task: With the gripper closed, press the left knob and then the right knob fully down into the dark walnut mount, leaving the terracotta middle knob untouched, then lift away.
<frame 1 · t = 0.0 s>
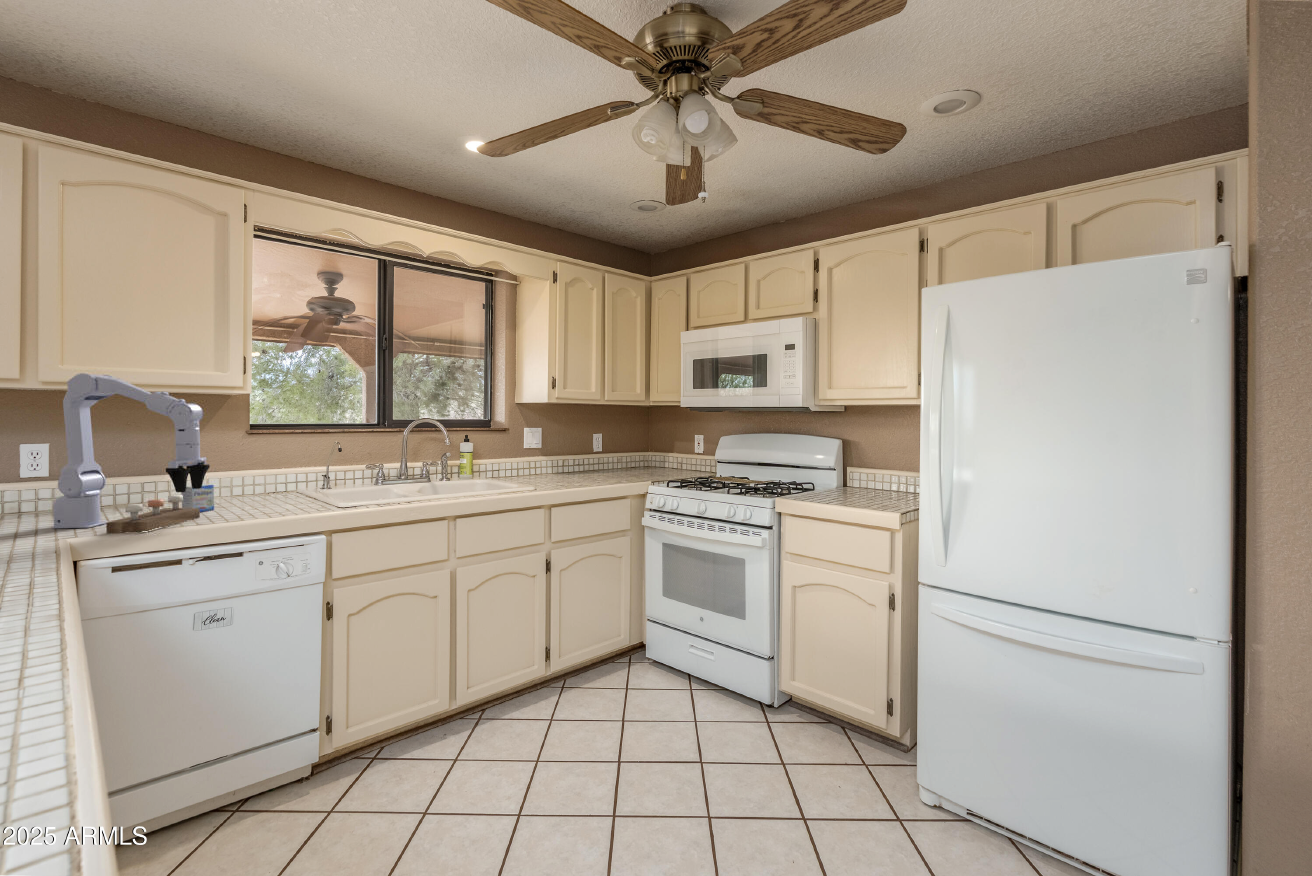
hand: (188, 490, 179), 10 cm above the counter, fingers open, 7 cm apart
knob middle: (155, 507, 178), point 5 cm above the counter, slide at 0.0 cm
knob 1: (134, 512, 169), point 5 cm above the counter, slide at 0.0 cm
medicine box: (198, 512, 202), on the counter
knob 2: (175, 503, 187), point 5 cm above the counter, slide at 0.0 cm
mount: (156, 524, 178), on the counter
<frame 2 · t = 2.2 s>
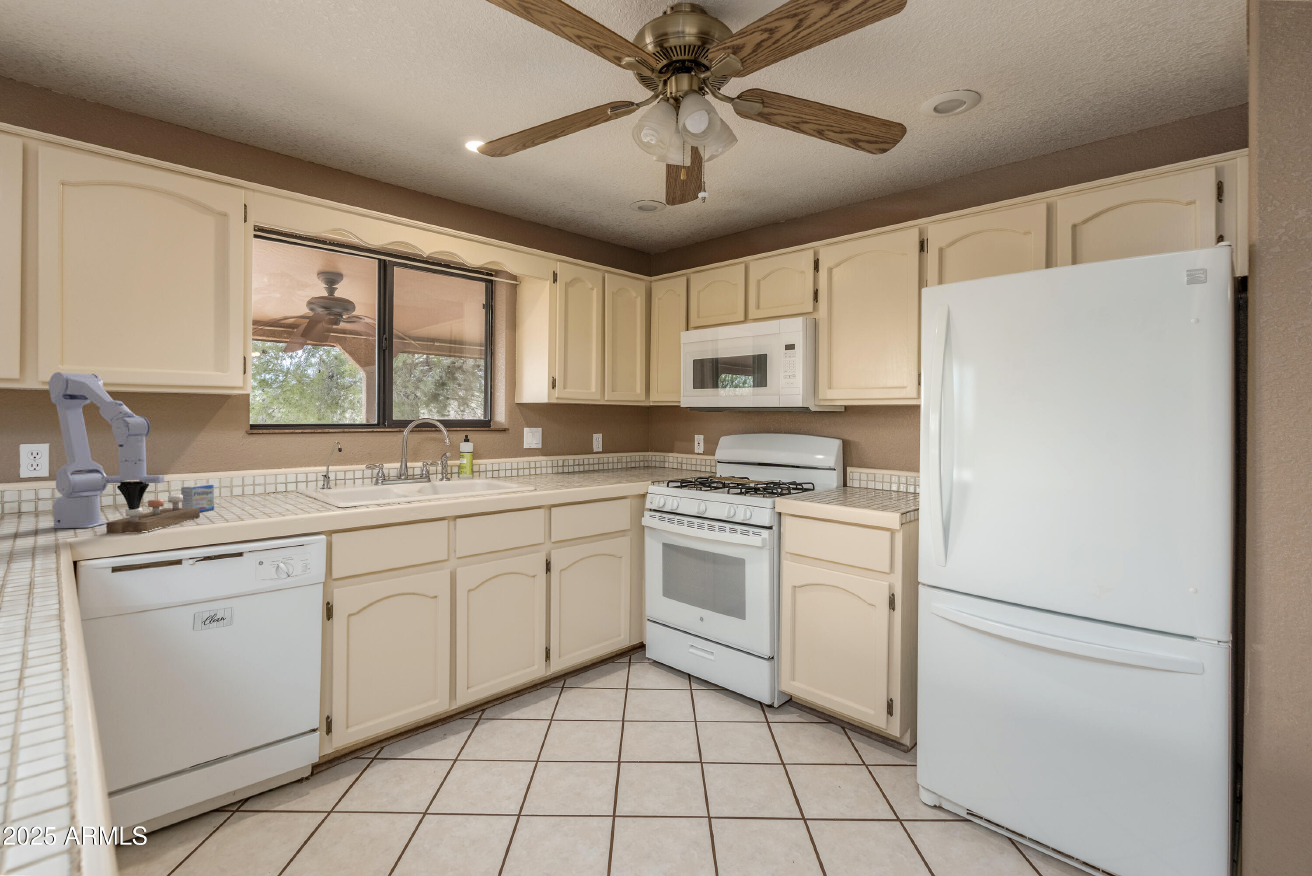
hand: (134, 509, 169), 6 cm above the counter, fingers closed, pressing on knob 1
knob 1: (134, 516, 169), point 4 cm above the counter, slide at 1.1 cm, touching gripper
everything else where it was.
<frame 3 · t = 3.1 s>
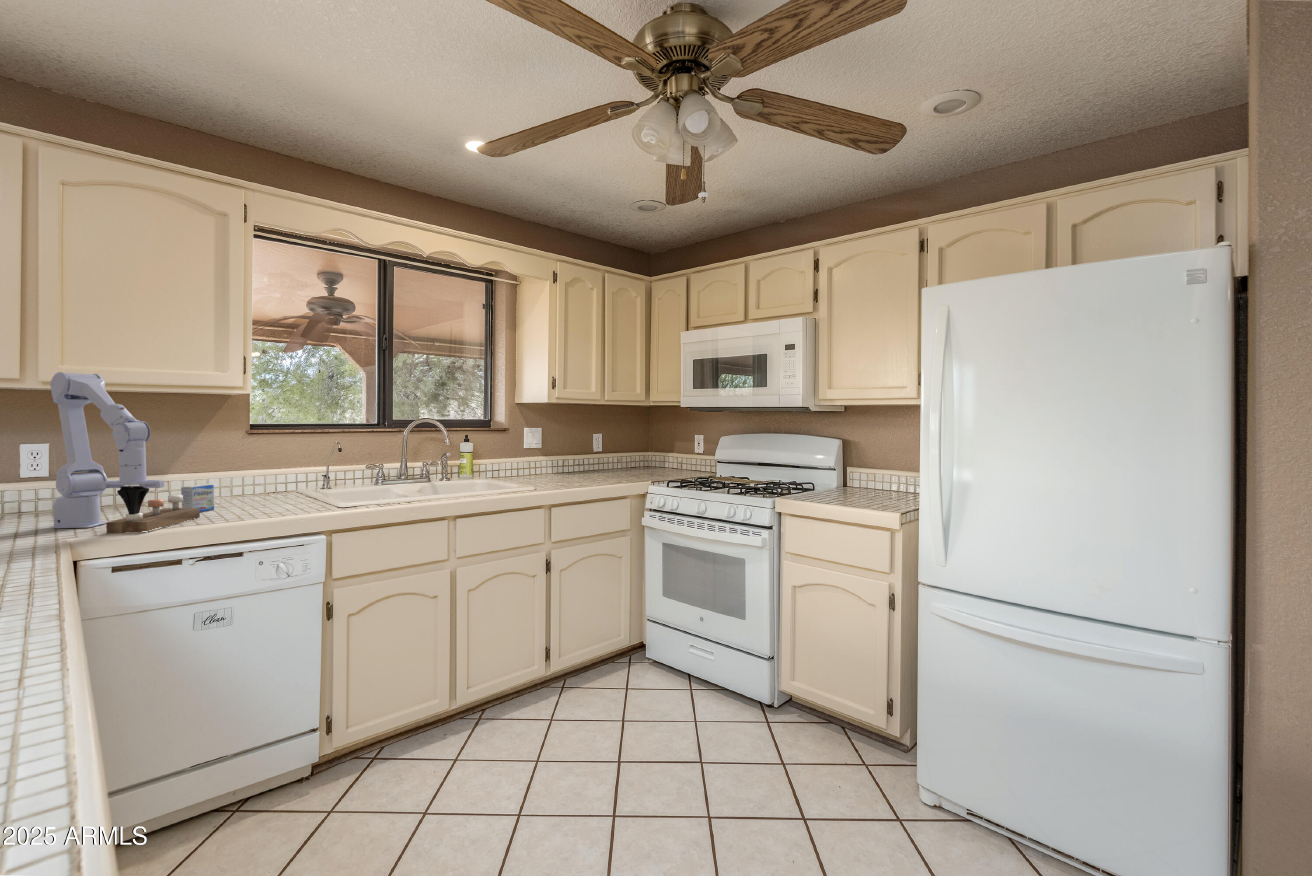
hand: (134, 513, 169), 5 cm above the counter, fingers closed
knob 1: (134, 521, 169), point 3 cm above the counter, slide at 2.5 cm, touching mount
everything else where it was.
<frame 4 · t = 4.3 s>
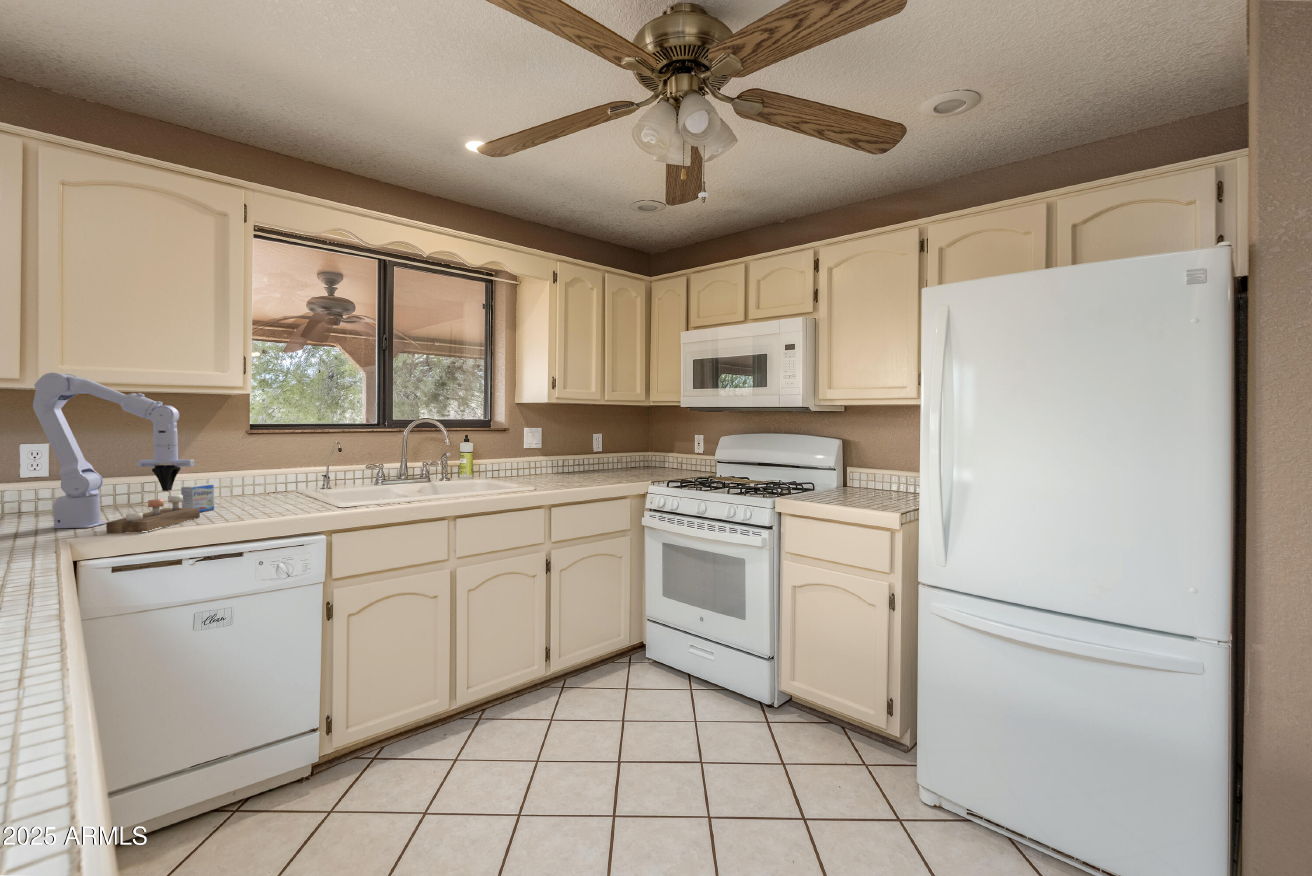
hand: (167, 490, 183), 9 cm above the counter, fingers closed
knob 1: (134, 521, 169), point 3 cm above the counter, slide at 2.5 cm
everything else where it was.
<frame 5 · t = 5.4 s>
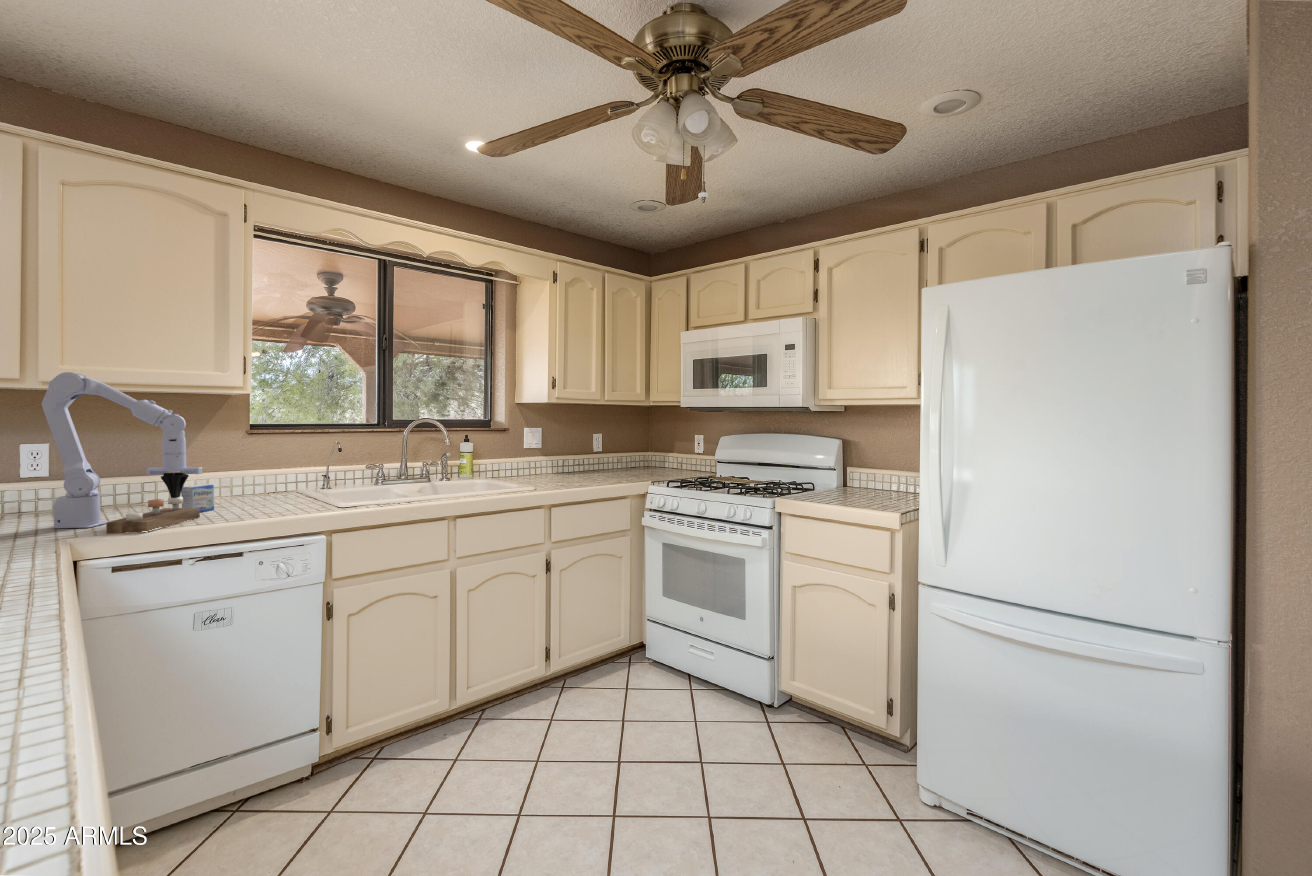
hand: (175, 497, 187), 7 cm above the counter, fingers closed, pressing on knob 2
knob 2: (175, 504, 187), point 5 cm above the counter, slide at 0.5 cm, touching gripper
everything else where it was.
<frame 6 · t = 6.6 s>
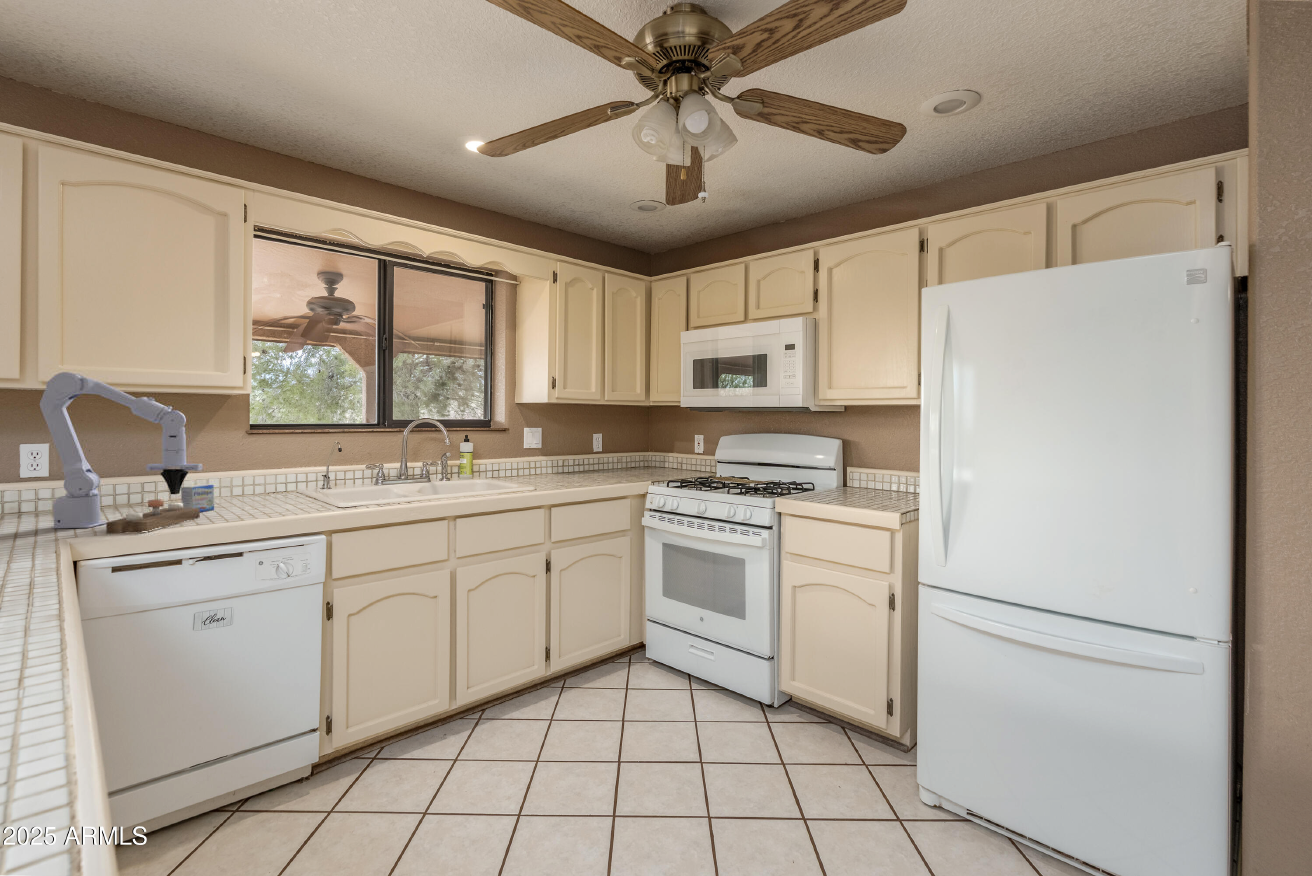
hand: (175, 494, 187), 8 cm above the counter, fingers closed
knob 2: (175, 511, 187), point 3 cm above the counter, slide at 2.5 cm
everything else where it was.
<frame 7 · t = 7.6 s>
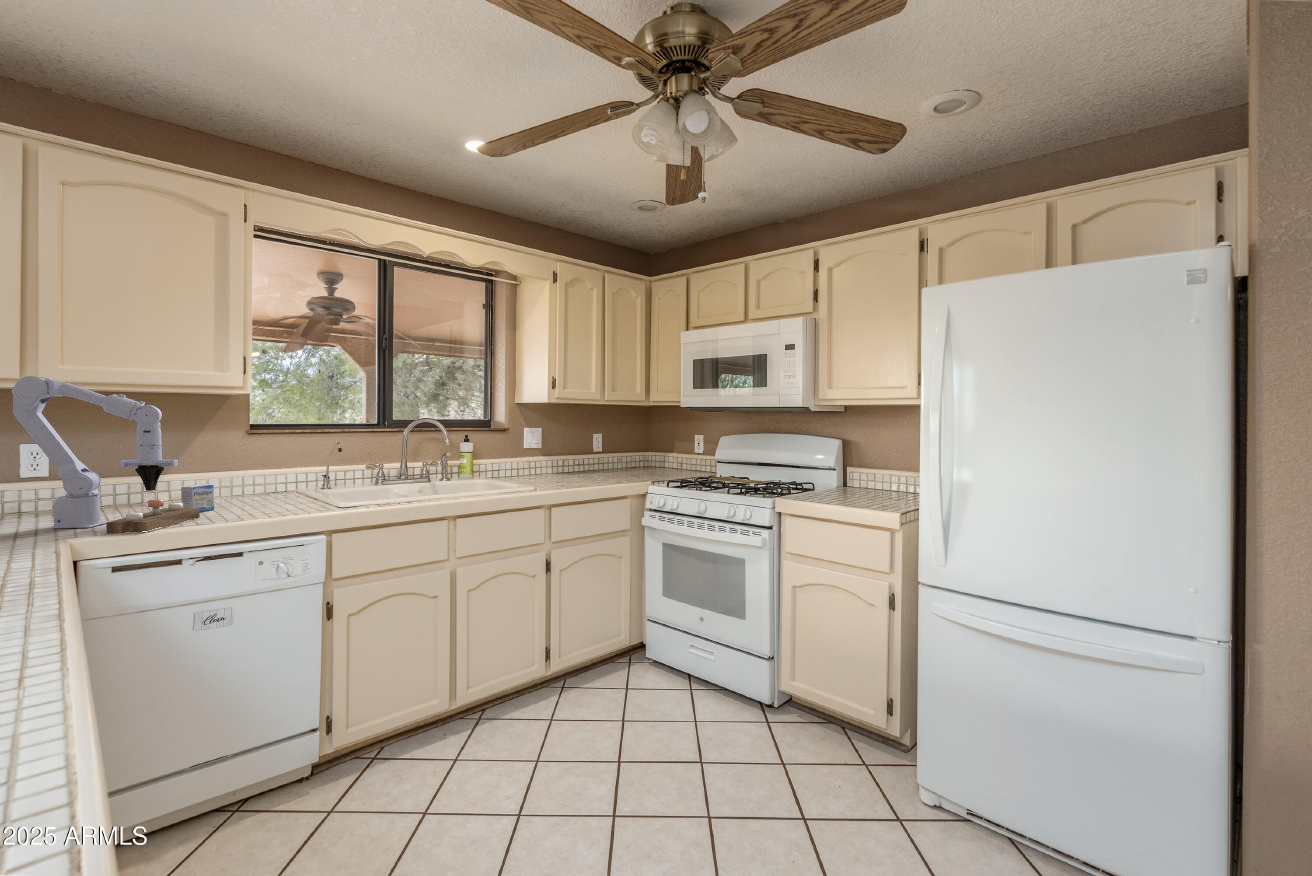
hand: (150, 490, 183), 9 cm above the counter, fingers closed
nothing on the counter moved.
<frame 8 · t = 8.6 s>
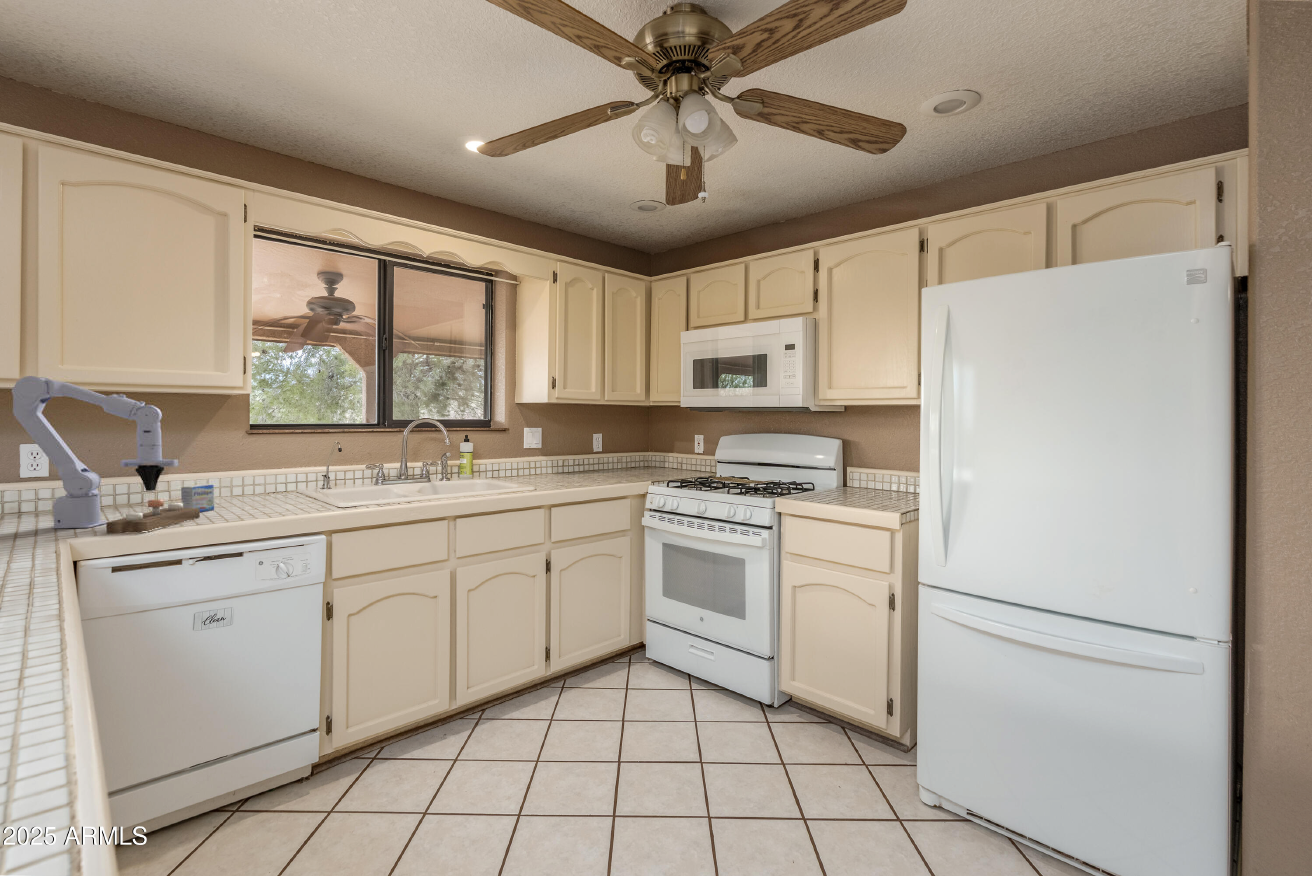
hand: (150, 490, 183), 9 cm above the counter, fingers closed
nothing on the counter moved.
at the end: knob 1 slide at 2.5 cm; knob 2 slide at 2.5 cm; knob middle slide at 0.0 cm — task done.
